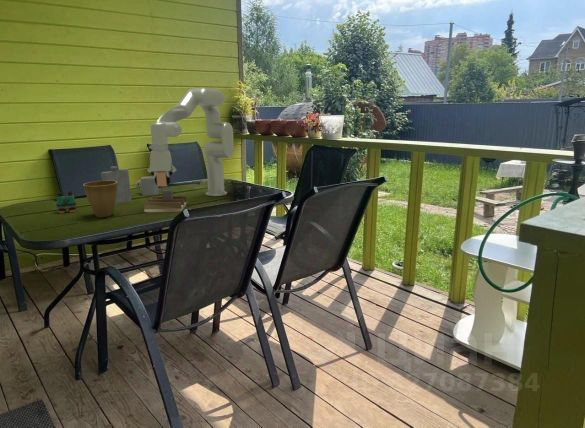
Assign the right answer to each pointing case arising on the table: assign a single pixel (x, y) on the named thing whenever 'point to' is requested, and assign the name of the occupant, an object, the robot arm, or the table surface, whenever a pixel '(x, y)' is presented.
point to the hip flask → (119, 183)
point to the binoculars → (66, 202)
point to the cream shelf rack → (165, 204)
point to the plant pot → (101, 196)
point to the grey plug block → (167, 194)
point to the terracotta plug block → (161, 178)
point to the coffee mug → (148, 186)
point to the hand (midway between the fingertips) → (162, 184)
